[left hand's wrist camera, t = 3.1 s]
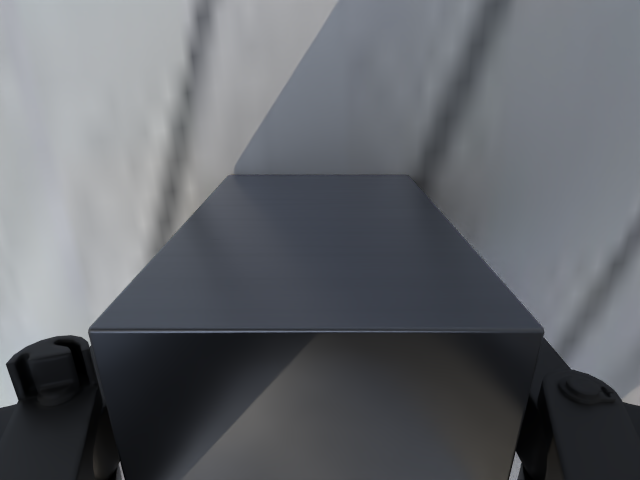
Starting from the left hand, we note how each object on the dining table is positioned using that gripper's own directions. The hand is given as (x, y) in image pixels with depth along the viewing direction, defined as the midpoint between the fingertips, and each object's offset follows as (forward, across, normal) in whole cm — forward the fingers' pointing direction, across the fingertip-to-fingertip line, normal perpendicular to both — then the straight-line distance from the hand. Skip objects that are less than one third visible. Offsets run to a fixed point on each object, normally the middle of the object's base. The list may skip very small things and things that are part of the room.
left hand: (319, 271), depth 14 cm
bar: (+1, 0, -8) cm, 8 cm away
